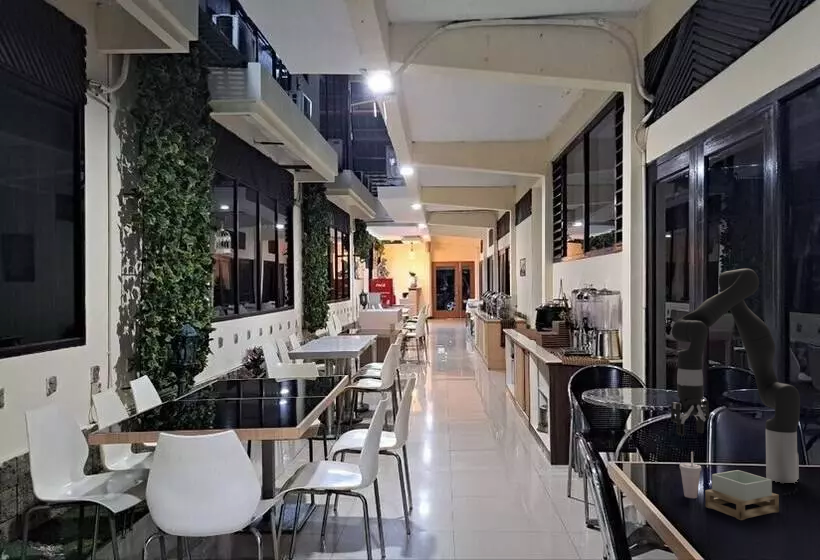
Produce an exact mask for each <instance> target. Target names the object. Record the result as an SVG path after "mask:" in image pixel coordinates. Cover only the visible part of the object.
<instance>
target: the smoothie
mask: <svg viewBox="0 0 820 560" xmlns="http://www.w3.org/2000/svg"><path fill="white" fill-rule="evenodd" d="M690 460H691V462H682V463H680V464H679V469H680V474H681V482H682V488H683V494H684V495H683V496H684V497H685V498H687V499H696V498H698V494H699V493H698V492H699V484H700V476H701V471H702V466H701V465H700V464H696V463H694V451H691V452H690Z"/></svg>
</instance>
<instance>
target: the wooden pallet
mask: <svg viewBox="0 0 820 560" xmlns="http://www.w3.org/2000/svg"><path fill="white" fill-rule="evenodd" d="M779 496H780V494H778V493H774V492H772V496H767V497H762V498H757V499H752V500H748V501H744V500H741V499H739V498H736V497H733V496H730V495H727V494H724V493H721V492H718V491H715V490H712V488H711V489H710V488H709V489H706V490H705V498H704V499H705V508H708V509H712V510H714V511H717V512H720V513H723V514H725V515H727V516H731V517H733V518H736V519H737V520H740V521H744V520H746V519H749V518H754V517H759V516H763V515H767V514H773V513H774V514H775V513H779V512H780V503H779V499H780V497H779ZM729 503H732V504H734V505H735V508H733V507H730V506H728V505H725V504H729ZM752 504H753V505H757V506H759V507H754V508H753V507H752V508H748V509H746V506H747V505H752Z"/></svg>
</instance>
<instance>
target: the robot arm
mask: <svg viewBox="0 0 820 560" xmlns="http://www.w3.org/2000/svg"><path fill="white" fill-rule="evenodd" d="M759 285H760V280H759V277H758V274H757V273H756V272H755V270H753V269H751V268H739V269H733V270H727V271H724V272H722V273H720V274H719V277H718V287H719V289H720V291H721V292H719V293H717V294H715V295H713V296H711V297H709V298H707V299H705V300H704V301H703V302H702V303H701V304H700V305H699V306H698V307H696V308H695V309H694V310H693V311H691V312H689V313H687V314H686V315H683V316H682V317H680V318H678V319H677V320H676V321H675V322H674V323H673V325H672V327H671V334H672V337H673V339H675V340H676V341H678V342H682V343H689V347H688V348H687V349H681V350H680V351H678V353H677V373H676V374H677V376H676V377H677V378H676V380H677V381H676V382H677V383H676V384H677V385H676V387H677V388H676V389H677V391H676V393H677V397H678V399H679V402H674V401H672V402H671V407H670V421H671V422H673V423H675V424H676V434H677V435H678V436H679V437H683V436H685V422H686V420H687V419H689V417H690V416H694V417H695V419H696V420H695V422H696V426H695V428H696V432H697V433H698V434H704V432H705V422H706V420H707V419H710V403H709V400H708V399H703V398H704V376H703V373H704V372H703V353H704V351H705V347H706V344H707V341H708V335H709V330H708V329H709V328H710V327H712V326H713V325H714V324H715V323H716V322H718V321H719V320H720V318H721V317H722V316H723V315H724V314H726V313H727V312H728V311H730V313H731V316H732V317H733V319H734V323H735V325H736V328H737V330H738V334H739V336H740V339H741V341H742V345H743V347H744V349H745V352H746V354H747V358H748V361H749V363H750V364H749V365H750V366H751V369H752V372H753V375H754V378H755V383H756V386H757V387H756V388H757V391H758V396H759V398H760V401H761V402H762V404H763V405H764V406H766V407H768V408H770V409H774V416H773V417H772V418H769V419H767V420H766V421H765V467H766V468H765V470H766V471H765V474H766V475H765V476H766V477H765V478H767V479H771V480H772V482H773V481H775V482H774V483H777V482H780V483H779V484H784V483H794V484H796V483H795V482H797V483H798V481H797V480H798V479H799V480H800V473H799V471H800V468H799V467H800V465H799V464H800V463H799V455H800V454H799V452H798V430H797V429H798V425H799V423H800V411H801V398H800V397H801V396H800V392H799V390H798V389H797V388H796V387H795V386H794V385H791V384H788V383H783V382H779V380H778V379H777V376H776V373H775V371H774V370H775V369H774V367H773V366H774V364H773V363H774V358H775V353H776V346H775V341H774V339H773V335H772V333H771V329H769V326H768V325H767V324H766V322H764V321H763V320H762V319H761V318H760V317H759V316H758V315H757V314H755V313H754V312H753V311H752V310H751V309H750V308H749V306H748V305H747V304H746V301H745V299H747V298H748V297H750V296H752V295H753V294H755V293H756V291H758V288H759Z"/></svg>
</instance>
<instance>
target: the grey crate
mask: <svg viewBox="0 0 820 560" xmlns="http://www.w3.org/2000/svg"><path fill="white" fill-rule="evenodd" d="M711 489H712V490H715V491H718V492H721V493H724V494H727V495H730V496H733V497H736V498H739V499H741V500H744V501H748V500H752V499H757V498H762V497H767V496H772V493H773V481H772V480H771V479H767V478H766V477H763V476H760V475H756V474H753V473H750V472H747V471H743V470H739V469H736V470H730V471H724V472H717V473H712V474H711Z"/></svg>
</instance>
